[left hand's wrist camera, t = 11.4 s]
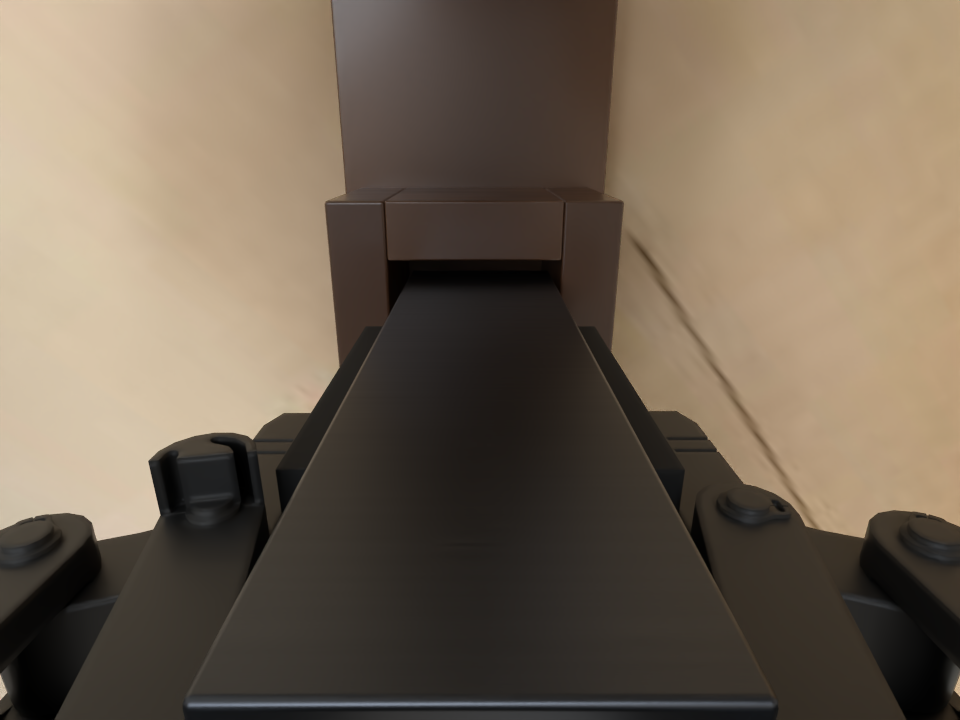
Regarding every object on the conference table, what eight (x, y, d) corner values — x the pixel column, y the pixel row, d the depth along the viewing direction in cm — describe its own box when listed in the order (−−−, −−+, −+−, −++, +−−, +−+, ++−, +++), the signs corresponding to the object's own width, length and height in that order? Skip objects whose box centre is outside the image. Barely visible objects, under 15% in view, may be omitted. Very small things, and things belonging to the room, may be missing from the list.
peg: (416, 395, 18) (257, 1030, 5) (411, 270, 17) (175, 702, 4) (543, 395, 18) (704, 1030, 5) (548, 270, 17) (787, 704, 4)
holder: (372, 400, 25) (286, 609, 14) (310, -459, 16) (-91, -1903, 5) (579, 400, 25) (662, 608, 14) (636, -458, 16) (1011, -1886, 5)
